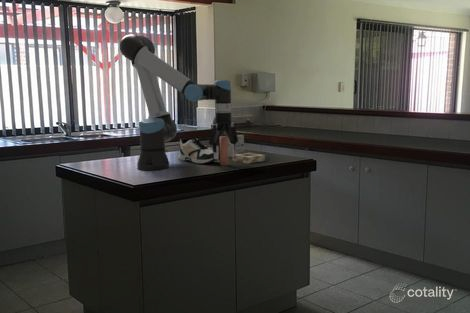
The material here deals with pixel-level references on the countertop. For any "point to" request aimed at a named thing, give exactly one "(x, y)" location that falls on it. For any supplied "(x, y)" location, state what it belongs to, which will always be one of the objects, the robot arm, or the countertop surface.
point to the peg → (223, 150)
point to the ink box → (238, 145)
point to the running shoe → (195, 151)
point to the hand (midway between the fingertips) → (224, 157)
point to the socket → (248, 157)
